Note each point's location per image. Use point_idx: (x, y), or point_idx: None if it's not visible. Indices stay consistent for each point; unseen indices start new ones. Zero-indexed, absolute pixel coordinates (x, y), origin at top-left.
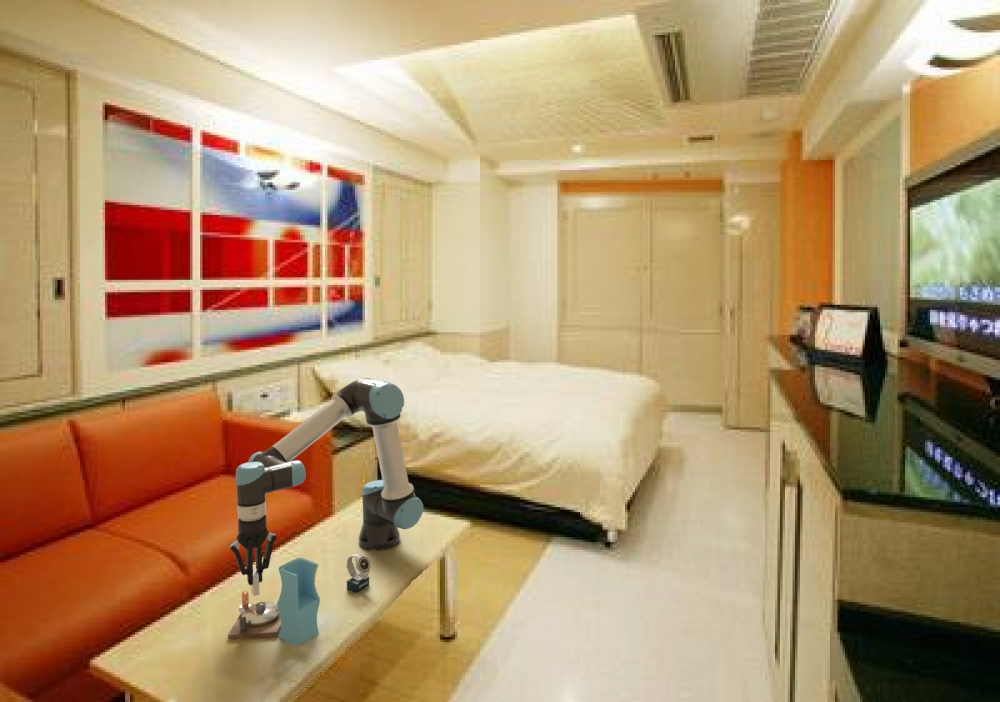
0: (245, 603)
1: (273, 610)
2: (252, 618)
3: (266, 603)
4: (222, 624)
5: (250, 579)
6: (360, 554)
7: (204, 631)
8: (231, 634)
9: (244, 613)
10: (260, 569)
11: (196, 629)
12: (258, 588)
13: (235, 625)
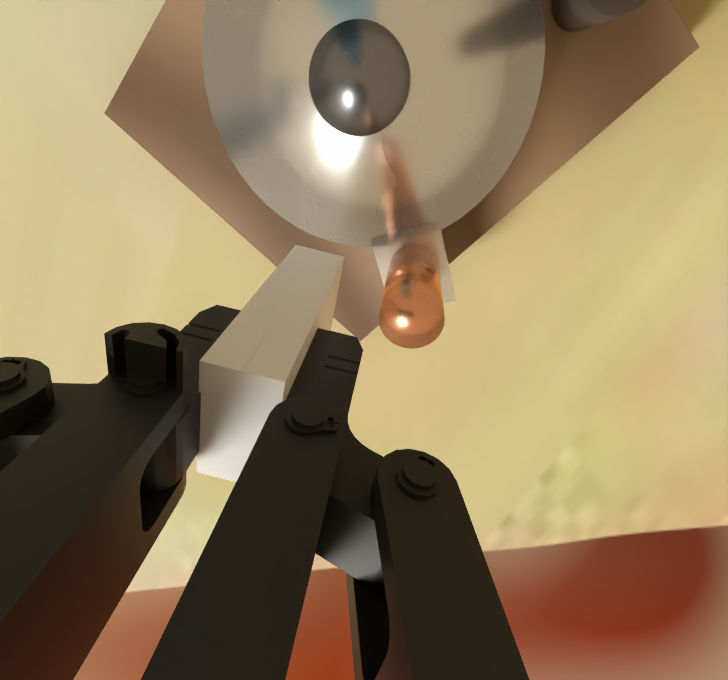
0: (425, 259)
1: None
2: (490, 2)
3: (277, 168)
4: (553, 284)
5: (330, 375)
6: None
7: (667, 299)
8: (681, 21)
9: (483, 166)
10: (129, 395)
11: (673, 354)
12: (284, 269)
13: (565, 141)
